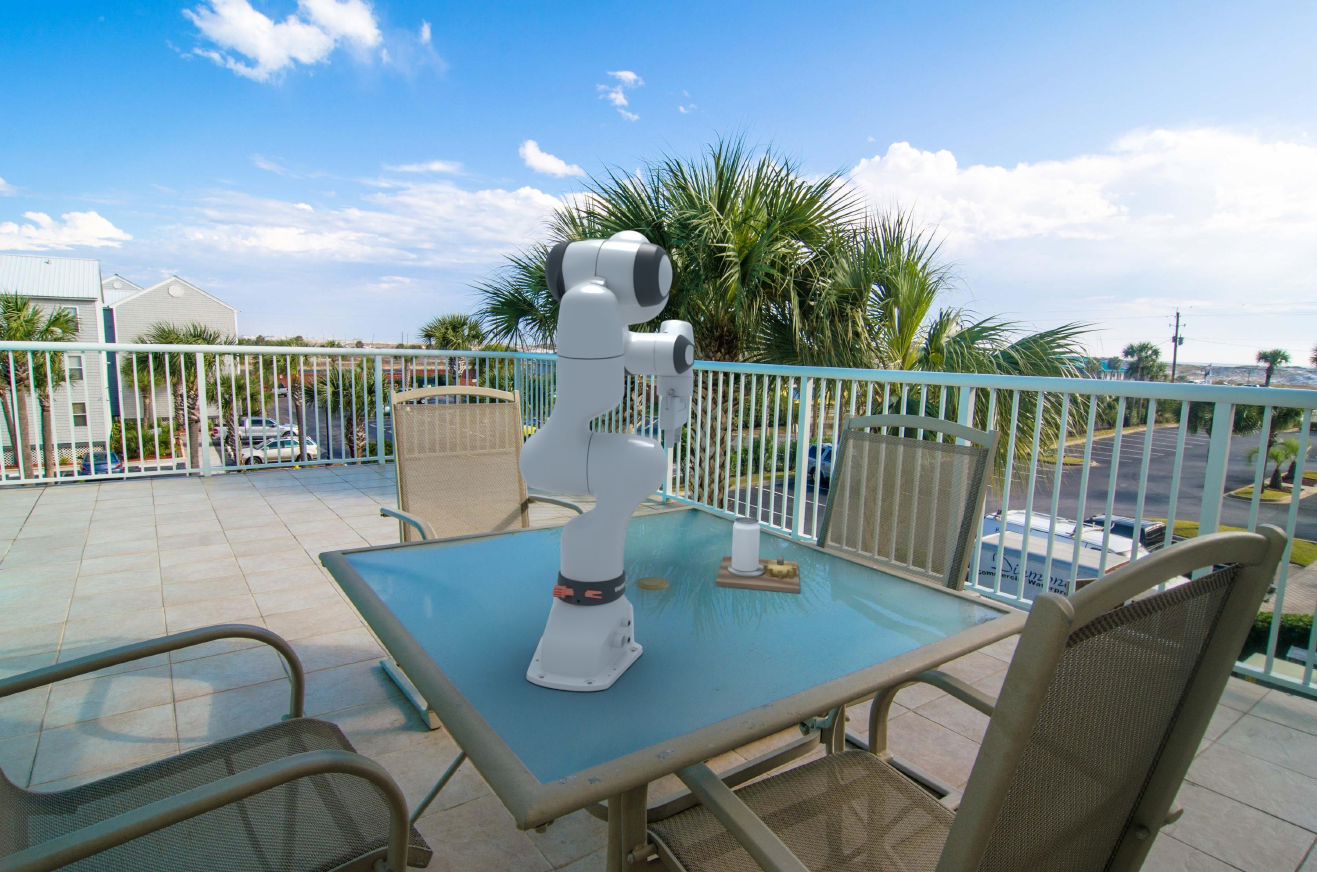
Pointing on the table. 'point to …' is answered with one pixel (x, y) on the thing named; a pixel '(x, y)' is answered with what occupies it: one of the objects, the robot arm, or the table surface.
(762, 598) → the table surface
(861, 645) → the table surface
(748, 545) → the can
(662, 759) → the table surface
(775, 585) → the board
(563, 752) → the table surface
